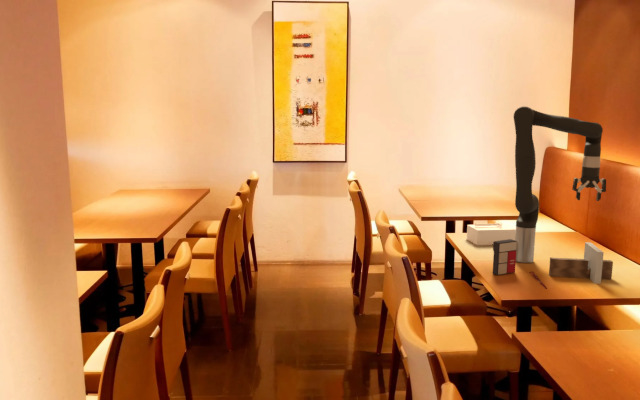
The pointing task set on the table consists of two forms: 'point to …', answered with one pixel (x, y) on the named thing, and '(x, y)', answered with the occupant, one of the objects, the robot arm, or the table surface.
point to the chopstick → (537, 279)
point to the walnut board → (577, 268)
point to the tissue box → (490, 233)
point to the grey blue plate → (594, 261)
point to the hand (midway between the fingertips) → (588, 200)
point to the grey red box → (504, 256)
